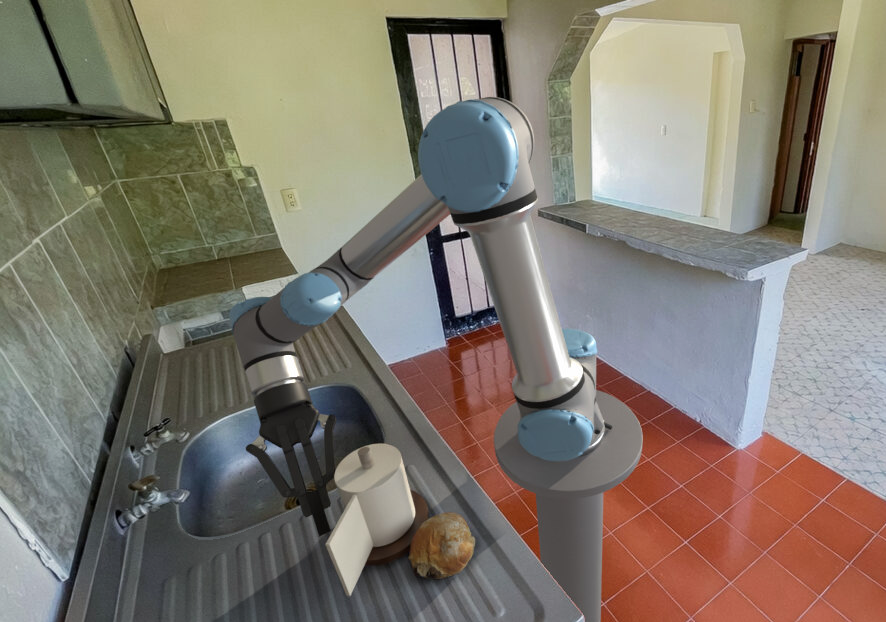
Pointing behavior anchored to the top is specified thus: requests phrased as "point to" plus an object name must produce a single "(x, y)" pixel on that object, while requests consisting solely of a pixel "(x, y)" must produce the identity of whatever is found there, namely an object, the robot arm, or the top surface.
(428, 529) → the bread roll
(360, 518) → the paper towel roll
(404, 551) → the towel holder
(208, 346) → the top surface
